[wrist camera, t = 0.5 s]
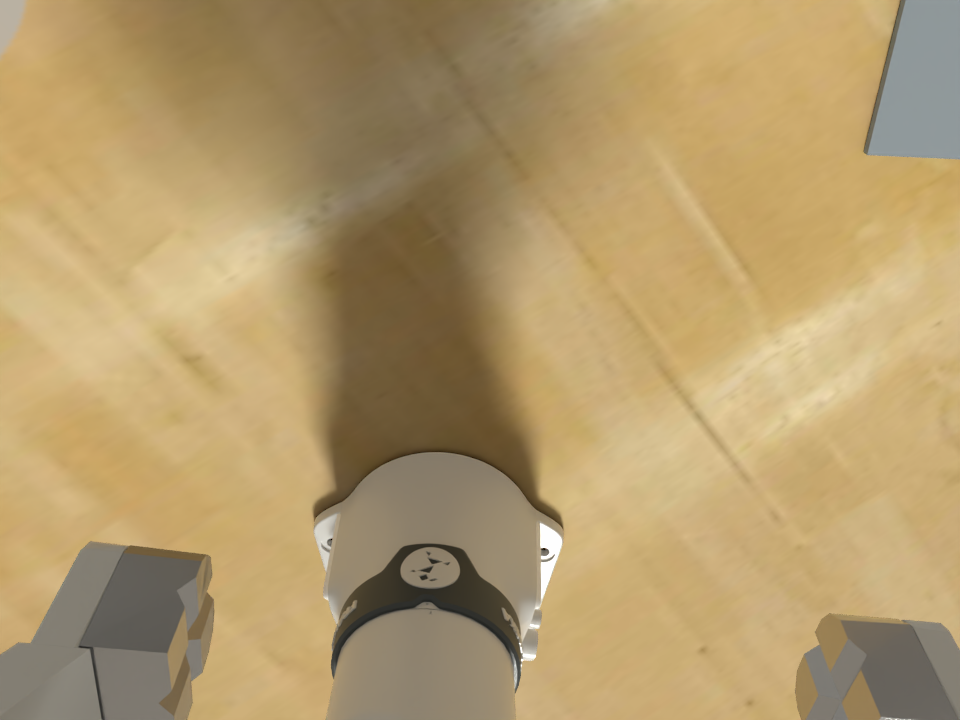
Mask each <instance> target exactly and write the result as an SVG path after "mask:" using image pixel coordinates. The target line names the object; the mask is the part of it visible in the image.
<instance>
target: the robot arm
mask: <svg viewBox="0 0 960 720" xmlns="http://www.w3.org/2000/svg"><path fill="white" fill-rule="evenodd" d="M314 536H315V539H316V542H317V545H318V549H319V552H320V555H321V558H322V562H323V565H324V568H325V571H326V577H325V582H324V589H323V596H324V598H325V599H327V600H329V606H330V609H331V612H332V615H333V618H334V620H335V622H336V625H337V627H336V628H335V632H334V637H333V642H332V651H333V653H332V660H331V669H332V675H333V679H334V681H333V686H332V691H331V696H330V700H329V705H328V710H327V715H326V720H516V709H515V693H516V690H517V688H518V686H519V681H520V676H521V667H522V661H523V660H526V661H531V660H532V661H533V660H534V658H535V655H536V651H537V645H538V632H537V631H535V629H539V627H540V624H541V618H542V612H541V610H539V609H540V606H541V603H542V600H543V598H544V595H545V592H546V589H547V587H548V584H549V581H550V578H551V576H552V573H553V570H554V567H555V565H556V562H557V559H558V556H559V554H560V551H561V548H562V545H563V537H564V532H563V529H562V527H561V526H560V525H559V524H558V523H557V522H555V521H554V520H552V519H551V518H549V517H548V516H546V515H544V514H543V513H541V512H539V511H537V510H536V509H535V508H534V507H533V506H532V505H531V504H530V503H529V502H528V500H527V499H526V497H525V496H524V495H523V493H522V492H521V490H520V489H519V488H518V487H517V486H516V485H515V483H514V482H513V481H512V480H510V479H509V478H508V477H507V476H506V475H504V474H503V473H502V472H500V471H499V470H497V469H496V468H494V467H492V466H490V465H489V464H486V463H484V462H482V461H480V460H477V459H474V458H471V457H468V456H464V455H459V454H453V453H444V452H426V453H418V454H412V455H408V456H404V457H400V458H397V459H395V460H392V461H390V462H388V463H386V464H384V465H382V466H380V467H378V468H377V469H375V470H374V471H372V472H371V473H370V474H369V475H367V476H366V477H365V478H364V479H363V480H362V481H361V482H360V483H359V485H358V486H357V487H356V488H355V490H354V491H353V492H352V493H351V494H350V495H349V497H348V498H346V499H345V500H344V501H343V502H341V503H338V504H336V505H334V506H332V507H330V508H328V509H326V510H325V511H323V512H322V513H320V514H319V515H318V516H317V517H316V519H315V523H314ZM331 538H333V539H332V540H330V539H331ZM541 548H547V549H546V550H541ZM211 578H212V566H211V557H210V556H208V555H206V554H197V553H189V552H181V551H173V550H164V549H156V548H148V547H139V546H131V545H130V546H126V545H117V544H109V543H101V542H92V541H90V542H89V543H88V544H87V545H86V546H85V547H84V548H83V549H82V550H81V551H80V552H79V554H78V556H77V558H76V560H75V562H74V563H73V565H72V567H71V569H70V571H69V573H68V575H67V576H66V578H65V580H64V582H63V584H62V586H61V588H60V589H59V591H58V593H57V595H56V597H55V599H54V601H53V603H52V604H51V606H50V608H49V610H48V612H47V614H46V616H45V617H44V619H43V621H42V623H41V625H40V627H39V629H38V630H37V632H36V634H35V636H34V638H33V640H32V642H31V643H19V642H18V643H17V644H15V645H14V646H12V647H11V648H9V649H8V650H6V651H5V652H3V653H2V654H0V720H187V718H188V715H189V712H190V709H191V706H192V703H193V702H192V686H191V681H192V680H194V679H195V678H196V677H197V676H199V675H200V674H201V673H202V672H203V669H204V666H205V662H206V659H207V656H208V653H209V647H210V642H211V637H212V632H213V622H214V599H213V598H212V597H211V596H210V595H209V594H208V593H207V589H208V586H209V584H210V581H211ZM815 633H816V636H817V639H818V641H819V644H820V645H818V646H817V647H815V648H813V649H812V650H810V651H809V652H807V653H805V654H804V656H803V658H802V660H801V663H800V665H799V667H798V670H797V676H796V688H795V694H796V701H797V708H798V711H799V714H800V717H801V720H960V650H959V648H958V646H957V644H956V642H955V641H954V639H953V637H952V635H951V633H950V632H949V630H948V629H947V628H945V627H944V626H943V625H942V624H941V623H933V622H922V621H911V620H898V619H890V618H879V617H867V616H855V615H843V614H831V613H829V614H828V615H827V616H825V617H824V618H823V619H821V621H820V623H819V625H818V627H817V629H816V631H815Z"/></svg>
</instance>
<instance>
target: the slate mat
mask: <svg viewBox="0 0 960 720" xmlns="http://www.w3.org/2000/svg"><path fill="white" fill-rule="evenodd" d="M864 153H865V154H867V155H878V156H900V157H922V158H945V159H960V0H901V3H900V7H899V11H898V15H897V19H896V23H895V27H894V31H893V35H892V39H891V43H890V47H889V51H888V55H887V59H886V63H885V68H884V72H883V76H882V80H881V84H880V88H879V92H878V96H877V100H876V104H875V108H874V112H873V116H872V120H871V124H870V128H869V132H868V137H867V141H866V145H865V149H864Z"/></svg>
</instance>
